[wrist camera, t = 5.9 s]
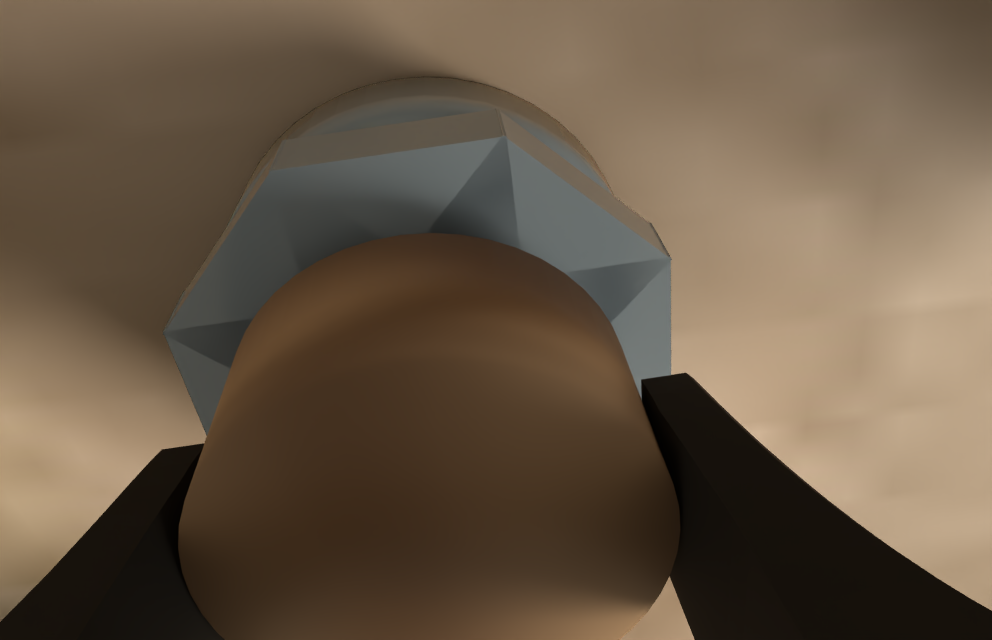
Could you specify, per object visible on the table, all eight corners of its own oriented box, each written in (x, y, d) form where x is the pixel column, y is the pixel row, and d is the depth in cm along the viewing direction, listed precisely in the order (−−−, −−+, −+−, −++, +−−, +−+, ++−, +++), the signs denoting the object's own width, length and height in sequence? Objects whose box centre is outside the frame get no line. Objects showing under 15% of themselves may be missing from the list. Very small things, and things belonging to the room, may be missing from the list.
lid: (626, 206, 10) (688, 325, 8) (629, 522, 13) (674, 674, 11) (174, 263, 10) (98, 400, 8) (284, 567, 13) (254, 731, 11)
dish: (615, 45, 14) (671, 111, 11) (629, 394, 18) (672, 514, 15) (175, 110, 14) (103, 193, 11) (291, 444, 18) (264, 574, 15)
